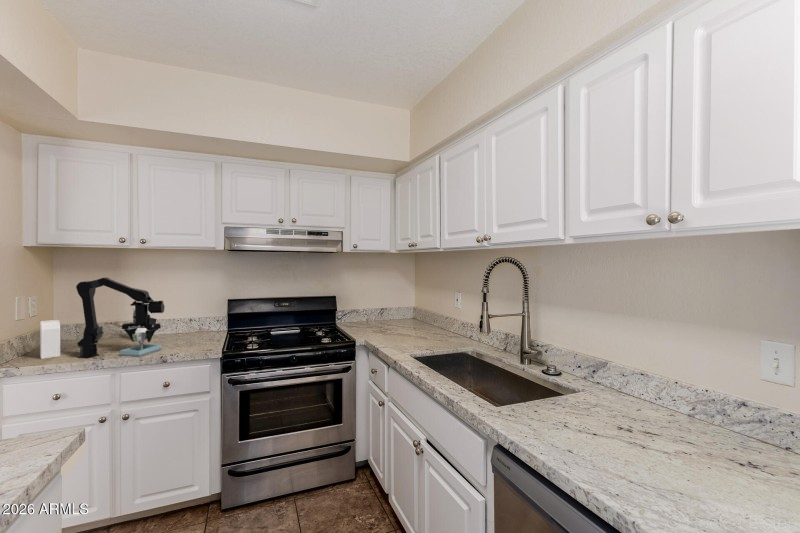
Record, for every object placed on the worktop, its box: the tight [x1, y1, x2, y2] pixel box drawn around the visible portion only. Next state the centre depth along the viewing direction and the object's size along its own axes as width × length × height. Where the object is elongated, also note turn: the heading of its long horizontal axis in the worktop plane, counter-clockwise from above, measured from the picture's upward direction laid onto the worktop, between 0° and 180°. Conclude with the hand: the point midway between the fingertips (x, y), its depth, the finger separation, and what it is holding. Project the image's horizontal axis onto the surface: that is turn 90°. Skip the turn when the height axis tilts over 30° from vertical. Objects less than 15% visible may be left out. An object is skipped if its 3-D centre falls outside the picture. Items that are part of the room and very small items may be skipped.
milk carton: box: [39, 319, 61, 360], centre depth 187 cm, size 7×7×19 cm
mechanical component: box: [132, 332, 147, 350], centre depth 196 cm, size 3×10×10 cm, turn 174°
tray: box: [119, 343, 162, 358], centre depth 196 cm, size 11×15×3 cm
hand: (141, 341), depth 196 cm, fingers open, 9 cm apart
